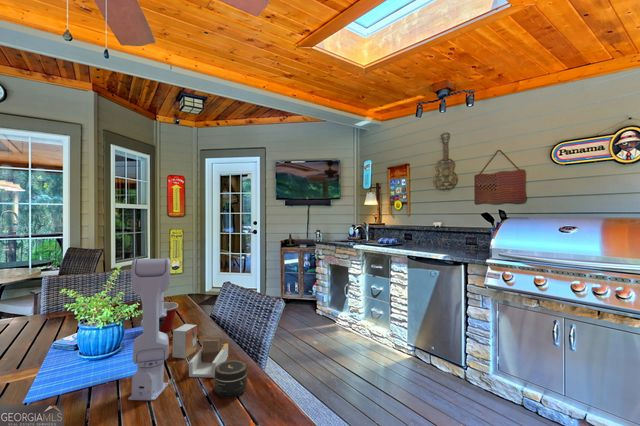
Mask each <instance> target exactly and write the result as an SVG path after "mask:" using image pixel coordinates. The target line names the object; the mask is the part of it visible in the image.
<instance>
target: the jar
mask: <svg viewBox="0 0 640 426" xmlns="http://www.w3.org/2000/svg"><path fill="white" fill-rule="evenodd" d="M247 374H248V366H247V364H246V363H245V362H244V361H241V360H236V359H235V360H234V359H233V360H231V359H230V360H226V361H225V362H222V363H220V364H218V365H217V366H216V368H215V374H214V377H213V378H214V392H215V394H216V395H217V396H218V397H219V398H223V399H233V398H236V397H240V396H241V395H242V394H243V393H244V392H245V390H246V387H247V383H248V382H247V381H248V380H247V378H248V376H247Z"/></svg>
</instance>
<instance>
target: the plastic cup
mask: <svg viewBox="0 0 640 426" xmlns="http://www.w3.org/2000/svg"><path fill="white" fill-rule="evenodd" d="M178 307H179V303H177V302H174V301H173V302H172V301H164V308H166V314H167V315H166V316H165V317H161V318H165V320H164V322H163V324H162V326H161V329H160V332H163V333H169V332H171V331H173V325H174V321H175V318H176V311H177V309H178Z"/></svg>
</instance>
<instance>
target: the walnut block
mask: <svg viewBox="0 0 640 426" xmlns="http://www.w3.org/2000/svg"><path fill="white" fill-rule="evenodd" d="M222 344H223V335H207V336H206V337H205V338H204V339H203V341H202V346H203V362H213V361H214V359H215V358H216V357H217V355H218V354H219V352H220V351H221V349H222Z"/></svg>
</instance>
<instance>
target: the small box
mask: <svg viewBox="0 0 640 426" xmlns="http://www.w3.org/2000/svg"><path fill="white" fill-rule="evenodd" d="M197 337H198V324H190V323H184V324H183V325H181V326H179V327H178V328H175V329H172V354H171V355H172V358H175V359H176V358H177V359H187V358H188V357H189V356H191V355H192V354H194V353H195V352H196V351H197V342H198V341H197Z"/></svg>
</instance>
